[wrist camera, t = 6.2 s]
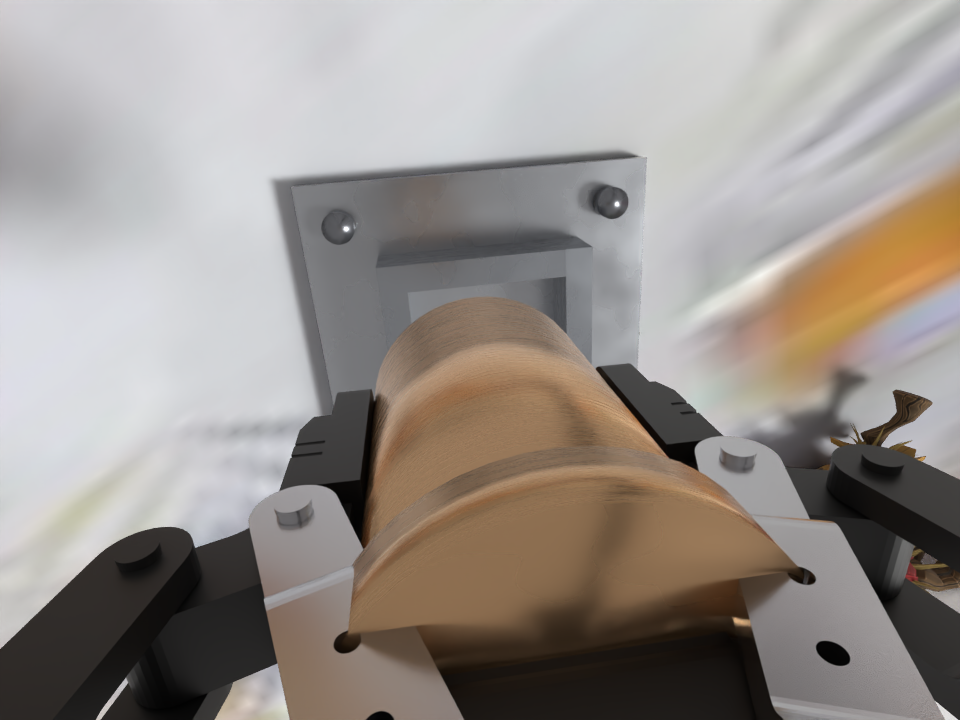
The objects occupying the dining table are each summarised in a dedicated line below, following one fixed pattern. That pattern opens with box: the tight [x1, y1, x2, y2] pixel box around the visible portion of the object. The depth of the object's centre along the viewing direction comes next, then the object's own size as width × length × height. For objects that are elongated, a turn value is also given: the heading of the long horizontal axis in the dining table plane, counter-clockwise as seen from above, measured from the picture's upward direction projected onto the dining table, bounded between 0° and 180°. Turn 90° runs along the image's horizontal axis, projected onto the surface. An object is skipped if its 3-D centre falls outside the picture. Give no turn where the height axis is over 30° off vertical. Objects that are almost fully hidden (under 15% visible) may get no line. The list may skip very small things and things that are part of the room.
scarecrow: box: [818, 390, 960, 594], centre depth 33 cm, size 17×16×8 cm
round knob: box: [339, 297, 804, 676], centre depth 10 cm, size 6×6×8 cm
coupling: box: [291, 156, 647, 406], centre depth 27 cm, size 16×16×3 cm
